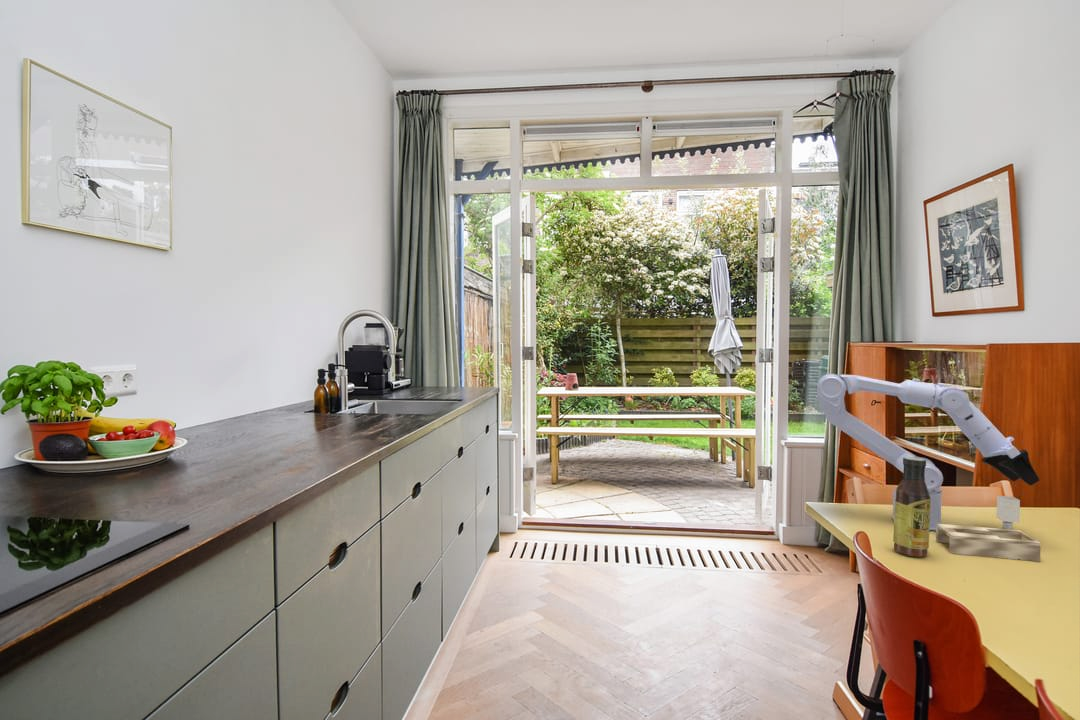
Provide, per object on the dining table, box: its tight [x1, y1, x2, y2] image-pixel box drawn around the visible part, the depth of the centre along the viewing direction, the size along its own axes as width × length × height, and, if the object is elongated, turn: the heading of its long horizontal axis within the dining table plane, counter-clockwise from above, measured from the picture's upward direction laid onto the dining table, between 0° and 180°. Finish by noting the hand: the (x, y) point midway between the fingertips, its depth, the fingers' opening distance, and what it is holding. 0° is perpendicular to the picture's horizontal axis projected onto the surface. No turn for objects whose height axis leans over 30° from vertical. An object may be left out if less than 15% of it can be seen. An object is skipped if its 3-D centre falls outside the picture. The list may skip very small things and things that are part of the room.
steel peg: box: [995, 495, 1021, 530], centre depth 128 cm, size 4×4×9 cm
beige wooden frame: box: [935, 523, 1042, 562], centre depth 121 cm, size 16×8×4 cm, turn 74°
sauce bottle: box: [892, 457, 931, 558], centre depth 119 cm, size 7×6×20 cm
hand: (1025, 480), depth 128 cm, fingers open, 7 cm apart
